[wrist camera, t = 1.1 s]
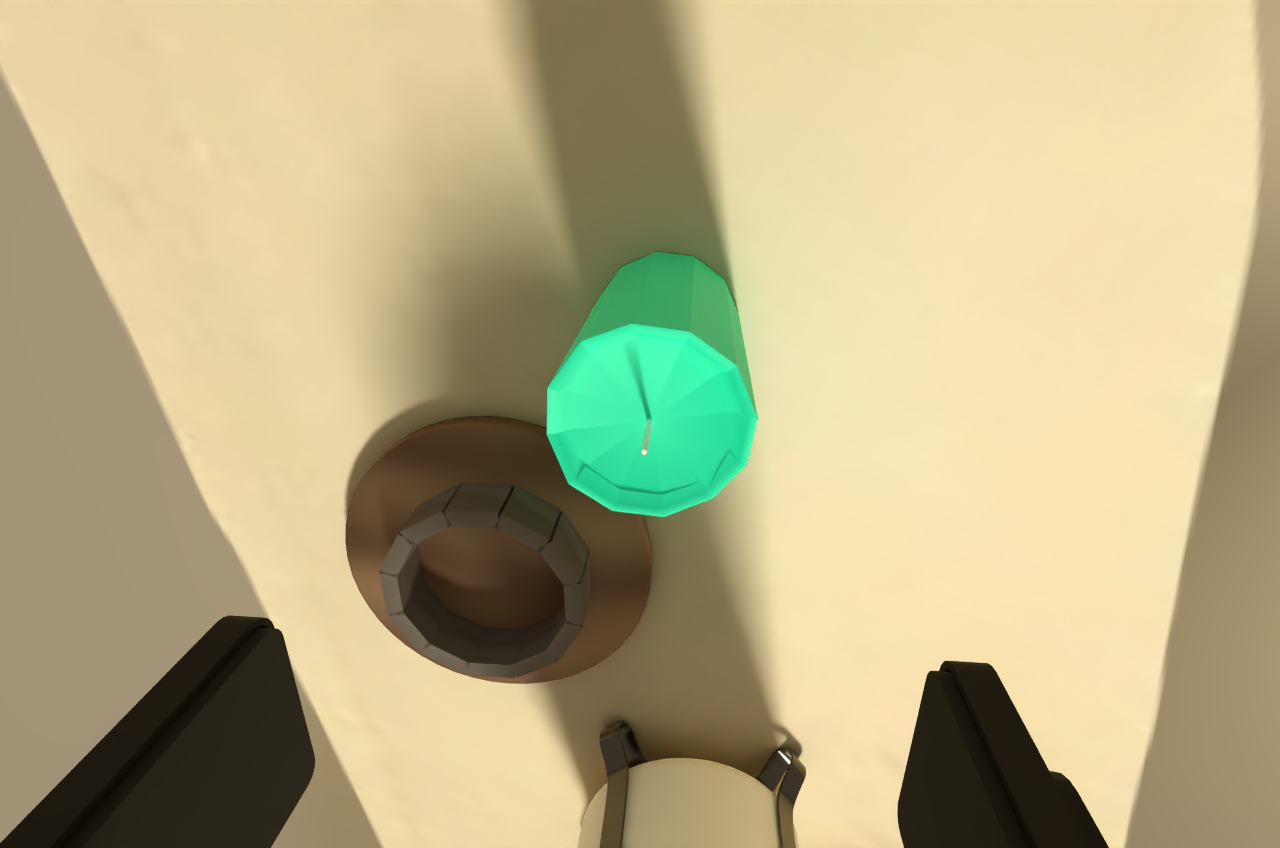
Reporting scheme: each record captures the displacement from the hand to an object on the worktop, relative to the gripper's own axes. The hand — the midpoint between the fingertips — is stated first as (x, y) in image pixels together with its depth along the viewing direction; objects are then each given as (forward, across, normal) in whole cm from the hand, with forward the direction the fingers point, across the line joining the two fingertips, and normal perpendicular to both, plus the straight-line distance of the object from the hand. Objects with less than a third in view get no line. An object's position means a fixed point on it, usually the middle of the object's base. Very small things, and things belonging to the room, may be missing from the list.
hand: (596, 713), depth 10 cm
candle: (+21, 0, 0) cm, 21 cm away
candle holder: (+20, +8, +12) cm, 25 cm away
